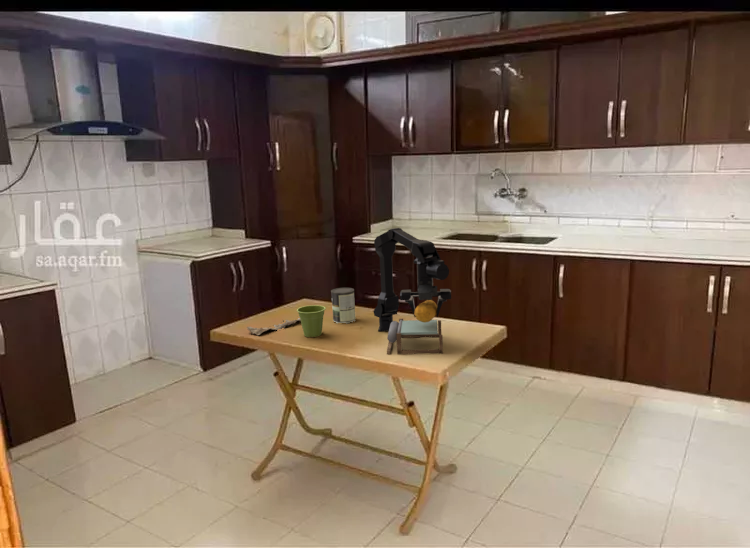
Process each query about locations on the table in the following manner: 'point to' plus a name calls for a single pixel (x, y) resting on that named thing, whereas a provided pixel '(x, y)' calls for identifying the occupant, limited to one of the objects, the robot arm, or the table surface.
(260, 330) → the crumpled grey wrapper
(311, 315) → the plant pot
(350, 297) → the coffee can
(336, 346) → the table surface
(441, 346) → the trapdoor frame
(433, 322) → the trapdoor
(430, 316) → the potato
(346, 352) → the table surface
